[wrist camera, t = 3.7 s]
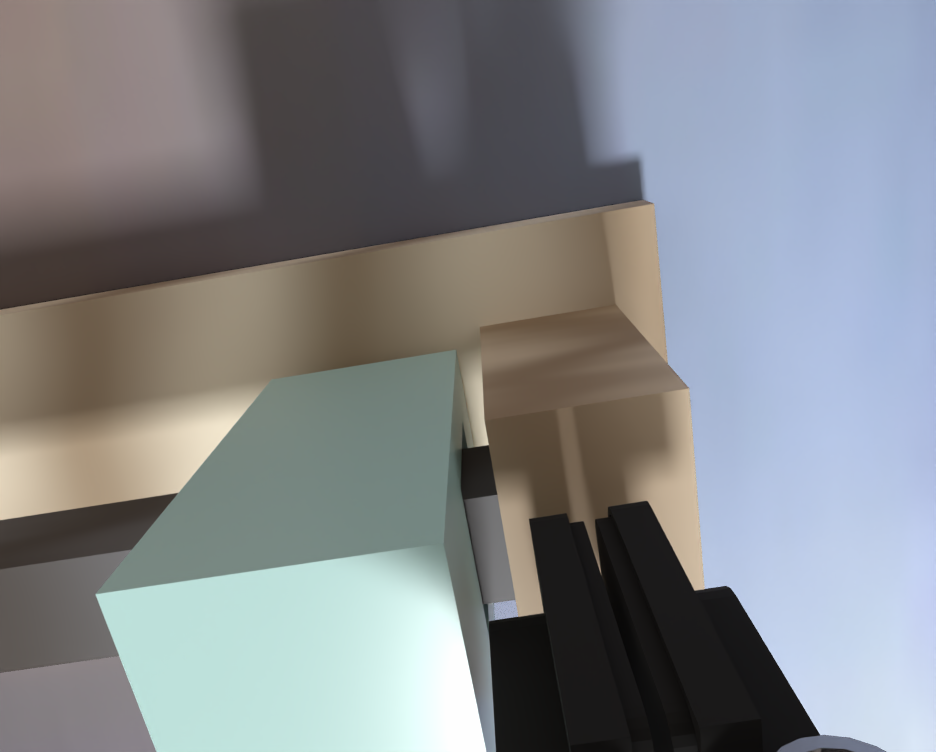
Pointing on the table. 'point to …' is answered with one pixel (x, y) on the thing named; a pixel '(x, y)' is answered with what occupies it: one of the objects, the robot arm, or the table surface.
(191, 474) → the beige slide rail fixture
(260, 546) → the mint green boxy block
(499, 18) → the table surface
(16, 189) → the table surface
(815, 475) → the table surface
